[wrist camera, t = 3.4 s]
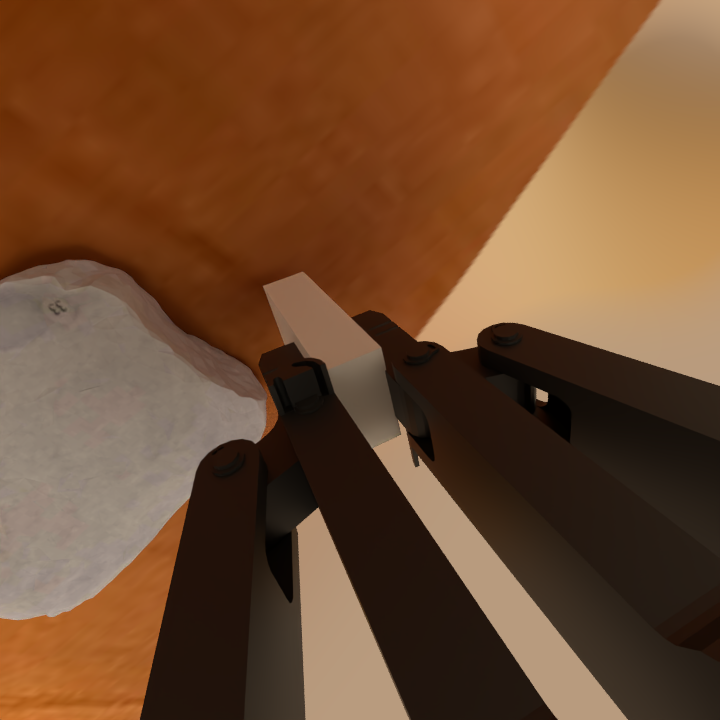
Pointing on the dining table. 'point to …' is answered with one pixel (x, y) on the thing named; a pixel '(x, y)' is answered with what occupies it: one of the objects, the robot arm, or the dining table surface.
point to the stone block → (100, 428)
